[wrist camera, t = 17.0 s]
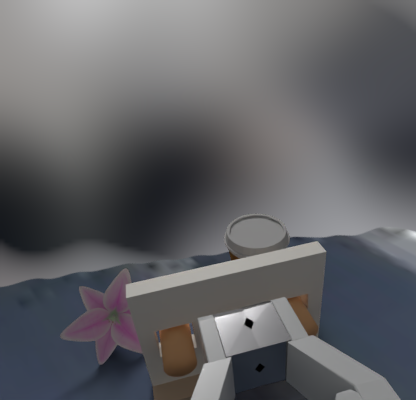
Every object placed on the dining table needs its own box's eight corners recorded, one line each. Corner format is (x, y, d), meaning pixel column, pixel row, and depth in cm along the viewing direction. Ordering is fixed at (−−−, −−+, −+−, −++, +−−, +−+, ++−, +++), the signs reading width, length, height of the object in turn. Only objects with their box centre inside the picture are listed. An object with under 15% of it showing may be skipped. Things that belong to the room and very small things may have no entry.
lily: (62, 360, 49) (46, 347, 41) (91, 282, 56) (83, 258, 48) (144, 377, 49) (144, 367, 41) (163, 298, 56) (167, 277, 48)
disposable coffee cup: (298, 304, 52) (301, 241, 46) (238, 319, 51) (233, 256, 45) (274, 265, 60) (274, 207, 54) (222, 277, 59) (216, 219, 53)
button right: (288, 347, 39) (288, 326, 37) (267, 305, 44) (266, 285, 43) (317, 339, 39) (319, 318, 37) (293, 299, 45) (293, 279, 43)
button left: (166, 380, 37) (161, 359, 35) (160, 332, 42) (155, 312, 41) (198, 371, 37) (195, 350, 36) (188, 325, 43) (185, 304, 41)
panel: (155, 410, 40) (126, 316, 32) (151, 358, 46) (125, 269, 38) (327, 361, 43) (338, 266, 35) (302, 319, 49) (307, 229, 41)
